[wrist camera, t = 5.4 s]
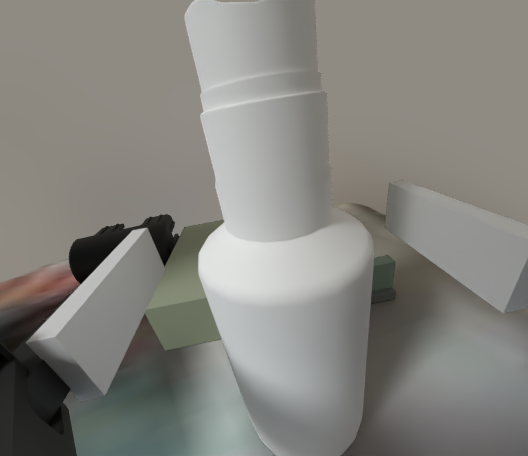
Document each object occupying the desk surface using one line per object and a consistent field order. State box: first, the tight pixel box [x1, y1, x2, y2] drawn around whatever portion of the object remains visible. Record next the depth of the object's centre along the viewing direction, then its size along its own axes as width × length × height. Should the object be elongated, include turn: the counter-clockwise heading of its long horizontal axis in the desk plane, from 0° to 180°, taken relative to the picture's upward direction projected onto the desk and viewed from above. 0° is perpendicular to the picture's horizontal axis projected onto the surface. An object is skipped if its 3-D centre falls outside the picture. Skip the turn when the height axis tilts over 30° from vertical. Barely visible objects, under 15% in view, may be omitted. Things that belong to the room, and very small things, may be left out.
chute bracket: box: [145, 220, 396, 350], centre depth 24 cm, size 20×14×4 cm
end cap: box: [69, 214, 180, 284], centre depth 27 cm, size 10×7×7 cm
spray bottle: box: [185, 0, 374, 456], centre depth 10 cm, size 7×7×18 cm
